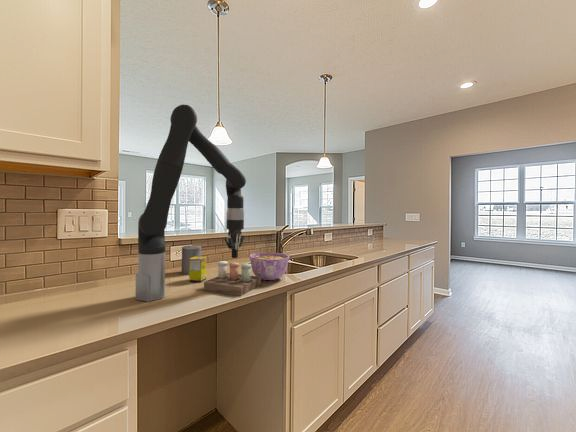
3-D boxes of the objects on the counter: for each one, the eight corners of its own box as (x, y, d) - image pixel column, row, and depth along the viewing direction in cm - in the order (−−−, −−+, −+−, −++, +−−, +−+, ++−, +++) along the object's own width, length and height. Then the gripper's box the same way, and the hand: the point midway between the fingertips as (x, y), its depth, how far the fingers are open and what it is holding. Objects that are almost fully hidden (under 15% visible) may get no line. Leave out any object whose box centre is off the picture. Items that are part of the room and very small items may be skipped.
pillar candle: (180, 270, 147) (181, 243, 147) (199, 269, 151) (200, 242, 151) (182, 275, 139) (182, 246, 138) (202, 273, 143) (202, 245, 142)
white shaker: (223, 279, 120) (224, 263, 120) (215, 278, 122) (215, 262, 121) (229, 276, 124) (229, 261, 124) (221, 275, 126) (221, 260, 125)
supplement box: (206, 279, 133) (206, 256, 132) (201, 282, 127) (201, 259, 126) (194, 278, 133) (195, 256, 133) (188, 281, 127) (189, 258, 127)
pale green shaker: (247, 282, 116) (248, 266, 116) (238, 281, 117) (239, 265, 117) (252, 280, 120) (253, 264, 120) (243, 278, 122) (244, 263, 121)
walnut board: (241, 296, 109) (241, 287, 109) (203, 290, 116) (204, 281, 115) (261, 284, 126) (261, 277, 126) (227, 279, 132) (227, 272, 132)
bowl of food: (270, 287, 123) (271, 261, 122) (240, 278, 135) (240, 255, 135) (296, 278, 139) (297, 255, 138) (267, 271, 151) (267, 251, 150)
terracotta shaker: (235, 280, 118) (236, 264, 118) (226, 279, 119) (227, 263, 119) (240, 278, 122) (241, 262, 122) (232, 277, 124) (232, 262, 123)
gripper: (234, 219, 112) (234, 261, 113) (250, 218, 125) (249, 256, 125) (219, 218, 115) (218, 259, 116) (235, 217, 127) (235, 254, 128)
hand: (234, 257), depth 121 cm, fingers closed
